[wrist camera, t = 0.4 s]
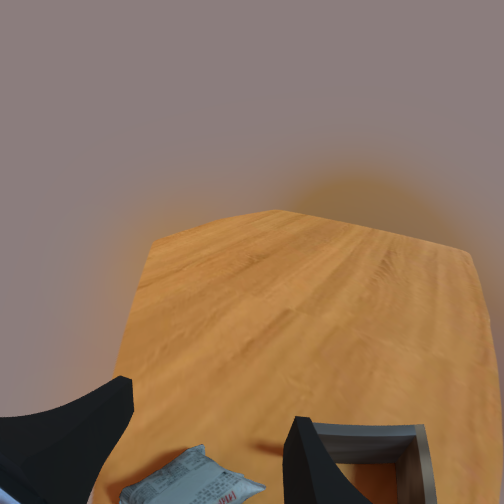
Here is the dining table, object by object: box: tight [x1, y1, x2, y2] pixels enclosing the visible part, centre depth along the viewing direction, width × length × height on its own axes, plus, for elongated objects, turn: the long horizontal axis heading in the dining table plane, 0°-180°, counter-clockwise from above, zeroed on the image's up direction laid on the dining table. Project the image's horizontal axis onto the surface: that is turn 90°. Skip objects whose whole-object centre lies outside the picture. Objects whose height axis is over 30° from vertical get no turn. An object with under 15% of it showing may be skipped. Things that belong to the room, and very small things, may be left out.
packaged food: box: [119, 444, 266, 504], centre depth 19 cm, size 9×12×5 cm
